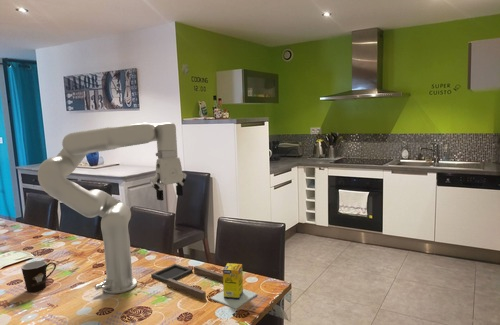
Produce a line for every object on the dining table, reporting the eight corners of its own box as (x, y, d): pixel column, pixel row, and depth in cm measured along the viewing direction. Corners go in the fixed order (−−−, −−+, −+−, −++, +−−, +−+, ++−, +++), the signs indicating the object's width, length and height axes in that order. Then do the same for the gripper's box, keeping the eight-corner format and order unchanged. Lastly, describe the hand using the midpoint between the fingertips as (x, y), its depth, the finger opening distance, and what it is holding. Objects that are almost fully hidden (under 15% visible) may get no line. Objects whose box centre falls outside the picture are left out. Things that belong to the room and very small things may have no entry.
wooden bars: (202, 299, 128) (202, 293, 128) (167, 285, 140) (166, 279, 140) (231, 283, 141) (231, 277, 140) (196, 271, 153) (196, 265, 153)
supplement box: (239, 300, 126) (238, 270, 125) (223, 298, 127) (222, 269, 126) (243, 292, 132) (242, 263, 131) (228, 291, 133) (226, 262, 132)
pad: (236, 308, 121) (236, 307, 121) (210, 299, 128) (210, 297, 128) (257, 294, 130) (257, 293, 130) (232, 286, 138) (232, 285, 138)
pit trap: (168, 283, 142) (168, 280, 142) (151, 277, 149) (151, 274, 149) (192, 272, 152) (192, 269, 152) (175, 266, 159) (175, 263, 159)
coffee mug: (22, 296, 136) (19, 271, 135) (24, 287, 143) (22, 263, 142) (57, 288, 141) (54, 264, 140) (57, 280, 149) (55, 257, 147)
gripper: (155, 157, 130) (158, 203, 132) (190, 153, 144) (192, 194, 145) (143, 156, 135) (146, 200, 137) (178, 152, 148) (180, 192, 150)
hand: (170, 197), depth 141 cm, fingers open, 9 cm apart
